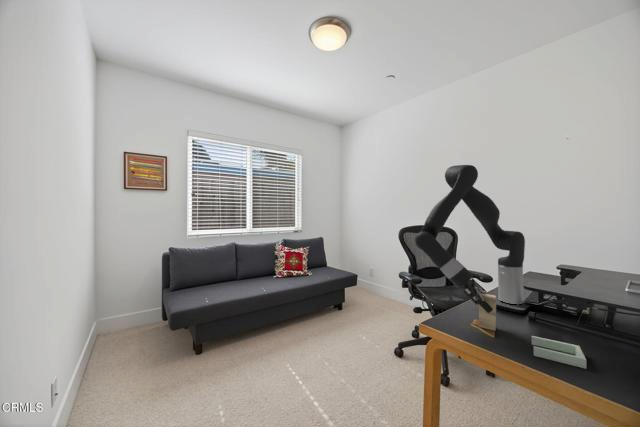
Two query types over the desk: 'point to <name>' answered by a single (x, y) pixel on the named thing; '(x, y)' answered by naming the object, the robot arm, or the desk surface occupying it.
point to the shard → (483, 329)
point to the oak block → (488, 318)
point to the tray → (558, 356)
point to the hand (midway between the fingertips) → (491, 307)
